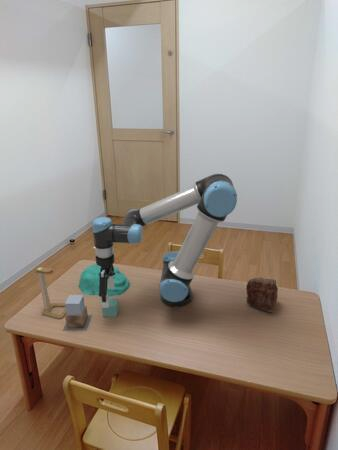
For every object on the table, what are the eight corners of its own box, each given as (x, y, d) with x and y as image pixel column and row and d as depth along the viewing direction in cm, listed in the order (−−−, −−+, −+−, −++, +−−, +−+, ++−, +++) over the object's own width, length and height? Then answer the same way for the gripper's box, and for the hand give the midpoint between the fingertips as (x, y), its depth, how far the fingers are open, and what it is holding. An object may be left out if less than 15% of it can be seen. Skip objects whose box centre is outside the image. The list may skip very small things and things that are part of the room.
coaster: (92, 316, 147) (92, 315, 147) (86, 331, 138) (86, 330, 138) (69, 315, 148) (69, 315, 148) (62, 331, 139) (62, 330, 138)
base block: (88, 317, 146) (86, 305, 144) (83, 328, 139) (82, 316, 137) (72, 317, 146) (70, 305, 144) (67, 328, 140) (65, 316, 137)
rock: (244, 313, 147) (246, 284, 141) (245, 297, 157) (247, 270, 151) (277, 317, 144) (281, 288, 138) (276, 301, 154) (279, 273, 148)
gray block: (84, 306, 143) (83, 294, 141) (81, 315, 138) (79, 303, 135) (71, 306, 143) (69, 295, 141) (66, 315, 138) (64, 303, 135)
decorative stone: (93, 270, 184) (90, 254, 180) (137, 280, 174) (135, 263, 170) (68, 290, 166) (66, 273, 163) (116, 302, 156) (114, 284, 152)
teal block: (119, 309, 152) (118, 298, 149) (116, 317, 146) (115, 306, 144) (105, 309, 152) (104, 298, 150) (103, 317, 146) (101, 306, 144)
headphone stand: (62, 320, 145) (54, 277, 136) (39, 317, 147) (29, 274, 138) (73, 305, 154) (66, 264, 146) (51, 303, 157) (43, 262, 148)
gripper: (102, 240, 149) (105, 281, 157) (88, 269, 126) (93, 315, 134) (118, 241, 149) (121, 281, 157) (107, 270, 126) (111, 315, 134)
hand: (108, 297), depth 146 cm, fingers open, 13 cm apart
